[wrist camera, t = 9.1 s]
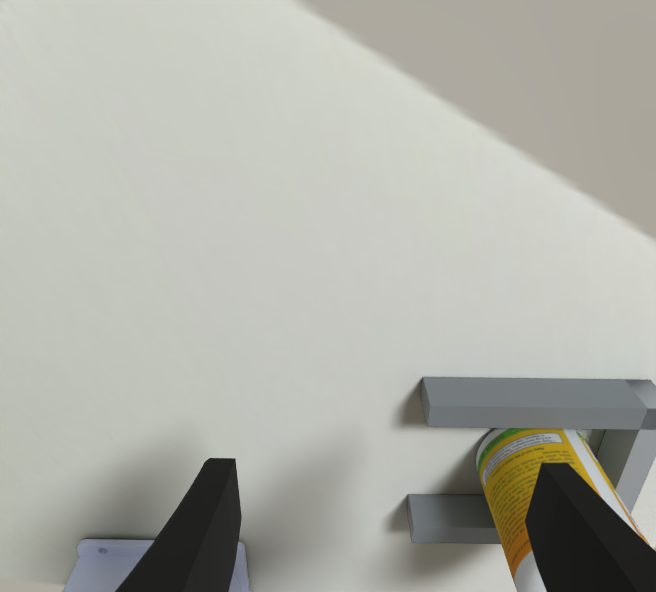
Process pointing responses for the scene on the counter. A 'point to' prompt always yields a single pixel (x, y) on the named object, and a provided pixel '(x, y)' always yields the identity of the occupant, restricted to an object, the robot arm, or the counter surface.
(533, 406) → the gray u-shaped bracket
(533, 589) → the supplement bottle
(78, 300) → the counter surface
